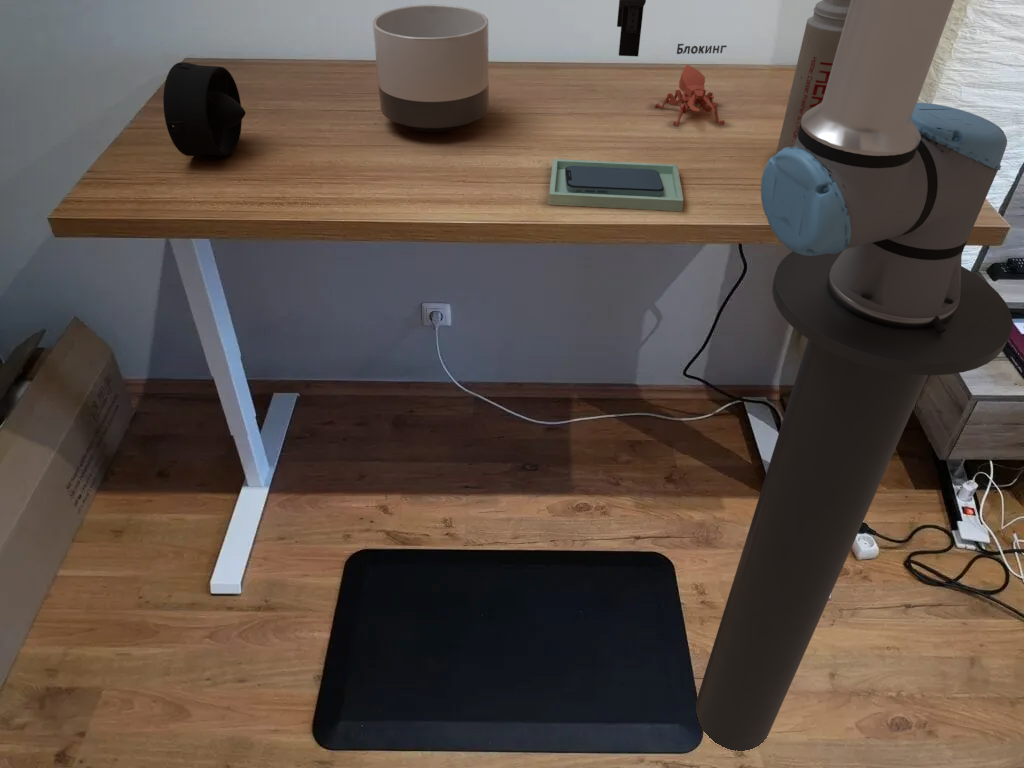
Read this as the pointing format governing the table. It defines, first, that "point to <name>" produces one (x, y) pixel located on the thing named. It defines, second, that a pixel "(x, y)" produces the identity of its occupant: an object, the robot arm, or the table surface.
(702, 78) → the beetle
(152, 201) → the table surface
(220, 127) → the black ducted fan
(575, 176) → the smartphone
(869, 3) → the robot arm
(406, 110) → the planter
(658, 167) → the green tray
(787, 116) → the thermos bottle
